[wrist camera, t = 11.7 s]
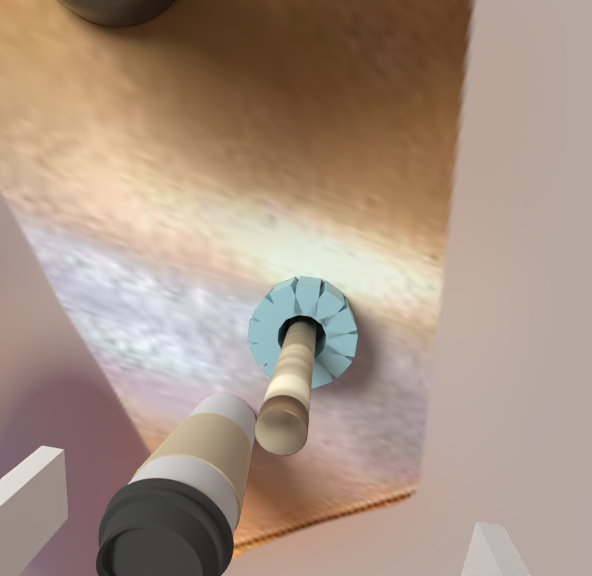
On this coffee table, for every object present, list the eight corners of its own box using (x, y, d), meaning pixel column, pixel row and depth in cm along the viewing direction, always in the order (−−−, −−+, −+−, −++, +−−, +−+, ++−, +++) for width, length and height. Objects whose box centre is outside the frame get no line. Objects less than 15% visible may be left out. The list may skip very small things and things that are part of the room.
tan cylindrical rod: (292, 309, 31) (256, 404, 15) (318, 313, 31) (310, 412, 15) (289, 334, 31) (252, 451, 16) (315, 338, 31) (304, 459, 16)
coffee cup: (274, 394, 33) (231, 534, 18) (260, 470, 35) (210, 650, 20) (188, 375, 33) (79, 495, 19) (178, 450, 35) (73, 612, 21)
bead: (262, 271, 30) (253, 278, 27) (360, 283, 30) (364, 293, 26) (254, 360, 32) (244, 379, 28) (345, 374, 32) (348, 395, 28)
